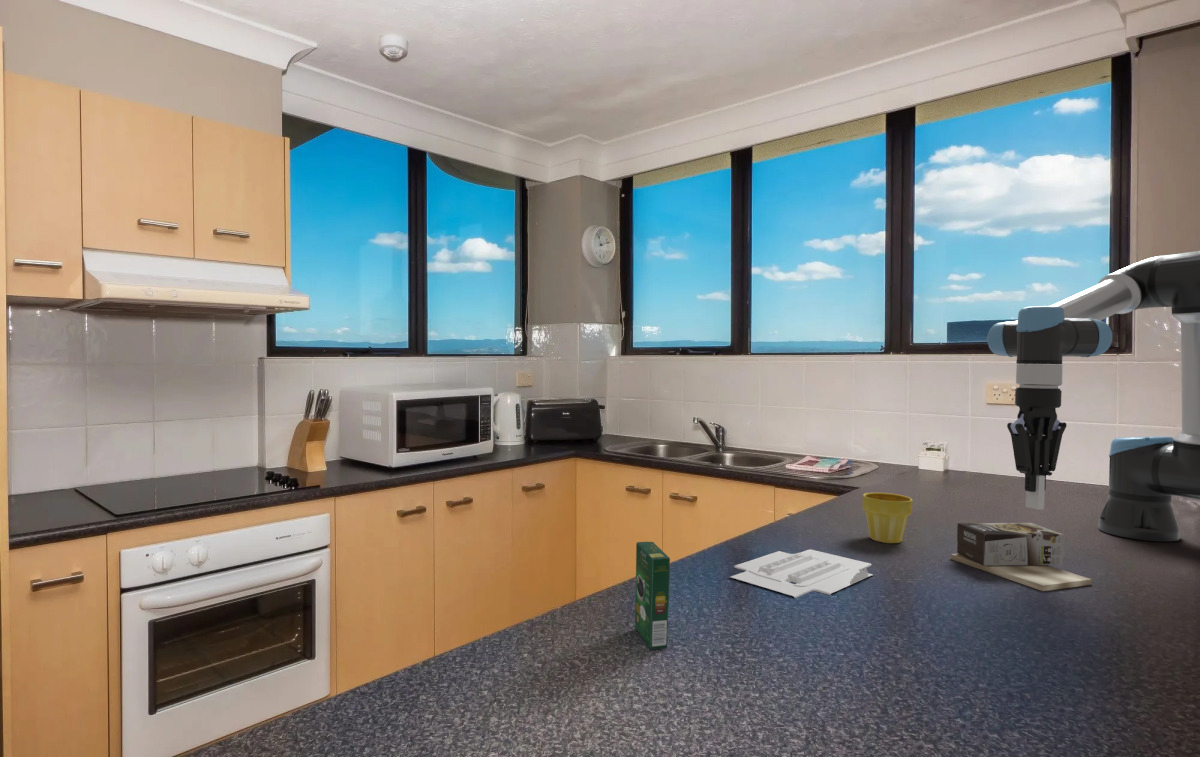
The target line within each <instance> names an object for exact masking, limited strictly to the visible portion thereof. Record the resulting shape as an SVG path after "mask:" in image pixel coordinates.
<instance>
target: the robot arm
mask: <svg viewBox="0 0 1200 757" xmlns="http://www.w3.org/2000/svg"><path fill="white" fill-rule="evenodd" d="M1150 308H1151V309H1152V308H1171V316H1172V317H1173V318H1175V319H1176V320H1177V321H1179V323H1180V359H1181V360H1180V363H1181V364H1180V366H1181V367H1180V370H1181V371H1180V372H1181V375H1180V376H1181V431H1180V432H1179V433H1178V434H1177V435H1175V436H1174V437H1172V436H1131V437H1130V436H1128V437H1127V436H1125V437H1116V438H1114V439H1113V440H1112V441H1111V443H1110V450H1109V454H1108V457H1109V466H1108V469H1109V471H1108V474H1109V475H1108V498H1107V500H1106V503H1105V504H1104V507H1103V509H1102V511H1101V513H1100V516H1099V517H1098V529H1099V530H1100V531H1102V532H1104V533H1105V534H1110V535H1114V536H1118V537H1122V538H1127V539H1128V538H1129V539H1134V540H1139V541H1149V542H1164V543H1165V542H1177V541H1180V539H1181V528H1180V527H1179V523H1178V519H1177V518H1176V514H1175V512H1174V509H1173V506H1172V496H1173V497H1179V498H1187V499H1192V500H1198V501H1200V250H1195V251H1187V252H1182V253H1181V252H1180V253H1173V254H1163V255H1158V256H1156V255H1155V256H1154V257H1153V256H1152V257H1149V258H1146V259H1143V260H1140V261H1138V262H1134V263H1132V264H1130V265H1128V266H1126V267H1123V268H1121V269H1118V270H1116V271H1114V272H1112V273H1109V274H1107V275H1105V276H1103V277H1102V278H1100V280H1099V281H1098V283H1097V284H1096V285H1093V286H1091V287H1089V288H1086V289H1085V290H1083V291H1080V292H1078V293H1076V294H1074V295H1073V294H1072V296H1069V297H1067V298H1064V299H1063V300H1061V301H1058V302H1056V303H1054V304H1051V305H1048V306H1047V305H1043V306H1042V305H1041V306H1040V305H1038V306H1027V307H1023V308H1021V309H1020V310H1019V311H1018V314H1017V316H1018V317H1017V320H1013V321H1009V320H1008V321H1007V320H1006V321H1004V322H997V323H995V324H993V325H992V326H991V328H990V329H989V330H988V333H987V340H986V341H987V345H988V348H989V350H990V351H991V352H992V353H993V354H994V355H996V356H1001V357H1009V358H1013V357H1016V374H1015V384H1016V385H1019V387H1016V388H1015V389H1014V390H1015V392H1014V394H1015V397H1014V404H1015V406H1017V407H1019V410H1018V413H1017V419H1016V420H1015V421H1014V422H1008V423H1007V425H1006V427H1007V429H1008V431H1009V433H1010V437H1011V443H1012V444H1011V445H1012V450H1013V457H1014V464H1015V469H1016V471H1018V472H1019V473H1020V474H1024V491H1025V508H1028V509H1033V510H1036V511H1037V510H1038V511H1041V510H1044V509H1045V492H1046V488H1047V476H1049V477H1050V476H1052V475H1053V472H1054V471H1056V468H1057V464H1058V458H1059V454H1060V448H1061V443H1062V438H1063V434H1064V433H1065V430H1066V428H1067V423H1066V422H1064V421H1060V420H1059V419H1058V414H1057V410H1056V409H1058V408H1061V406H1062V390H1061V388H1059V386H1062V385H1063V357H1075V358H1076V357H1081V358H1090V357H1097V356H1101V355H1102V354H1104V353H1106V352H1107V351H1108V350H1109V348H1110V347H1111V345H1112V343H1113V331H1112V329H1111V327H1110V326H1109V324H1107V323H1106V322H1105V321H1102V320H1105V319H1107V318H1109V317H1111V316H1114V315H1115V314H1116V315H1118V314H1119V315H1124V314H1125V315H1126V314H1128V313H1131V312H1132V311H1136V310H1140V309H1141V310H1142V309H1150Z"/></svg>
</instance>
